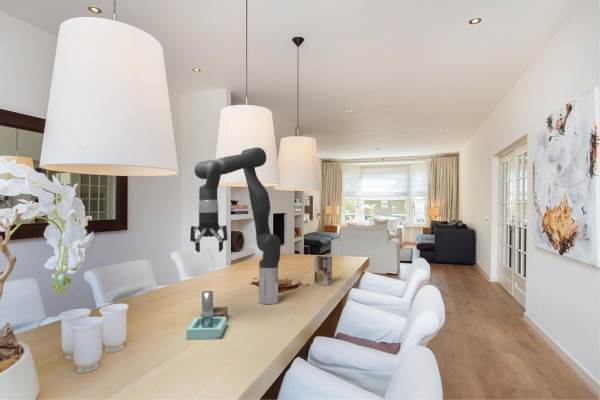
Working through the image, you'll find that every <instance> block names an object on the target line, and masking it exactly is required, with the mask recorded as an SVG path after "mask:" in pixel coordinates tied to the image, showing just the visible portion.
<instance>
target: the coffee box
mask: <svg viewBox="0 0 600 400" xmlns="http://www.w3.org/2000/svg"><path fill="white" fill-rule="evenodd" d="M313 258H314V259H313V260H314V264H313V265H314V285H323V286H327V287H328V286H330V285H332V284H333V257H332V256H327V255H317V256H314V257H313Z"/></svg>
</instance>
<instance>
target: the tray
mask: <svg viewBox="0 0 600 400" xmlns="http://www.w3.org/2000/svg"><path fill="white" fill-rule="evenodd" d="M227 319H228V316H227V317H213V328H202V317H201V316H195V318H194V319H193V320H192V321H191V323H190V324H189V325H188V327H187V328H186V330H185V333H186V335H185V336H186V337H185V340H188V341H189V340H221V339H222V336H223V335H224V333H225V330H226V328H227V323H228V321H227Z"/></svg>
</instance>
